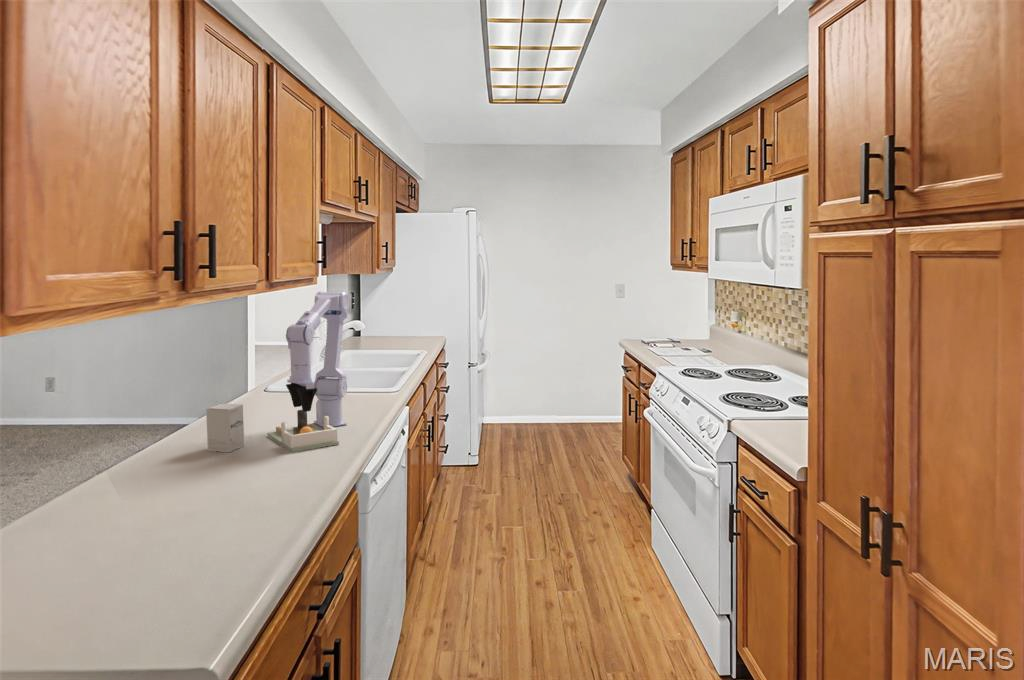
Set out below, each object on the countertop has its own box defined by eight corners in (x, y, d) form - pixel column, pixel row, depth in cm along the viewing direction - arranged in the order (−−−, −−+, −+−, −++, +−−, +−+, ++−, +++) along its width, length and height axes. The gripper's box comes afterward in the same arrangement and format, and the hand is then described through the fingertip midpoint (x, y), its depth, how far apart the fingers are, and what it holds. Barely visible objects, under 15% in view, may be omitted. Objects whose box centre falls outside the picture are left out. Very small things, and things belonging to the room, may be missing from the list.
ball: (300, 426, 202) (303, 439, 202) (314, 424, 205) (316, 437, 204) (296, 428, 205) (298, 441, 205) (309, 426, 208) (311, 439, 207)
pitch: (266, 436, 212) (265, 414, 211) (311, 429, 221) (311, 408, 220) (291, 452, 195) (290, 428, 194) (339, 444, 204) (339, 421, 203)
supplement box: (230, 453, 194) (228, 409, 193) (207, 451, 196) (205, 408, 194) (245, 446, 201) (243, 403, 200) (222, 444, 203) (220, 402, 201)
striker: (293, 436, 207) (292, 410, 206) (309, 434, 210) (308, 408, 209) (296, 438, 205) (295, 412, 204) (312, 436, 208) (311, 410, 207)
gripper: (279, 362, 208) (280, 406, 210) (296, 368, 197) (297, 415, 198) (301, 360, 212) (303, 403, 214) (319, 366, 201) (321, 411, 202)
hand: (302, 408), depth 206 cm, fingers open, 7 cm apart
